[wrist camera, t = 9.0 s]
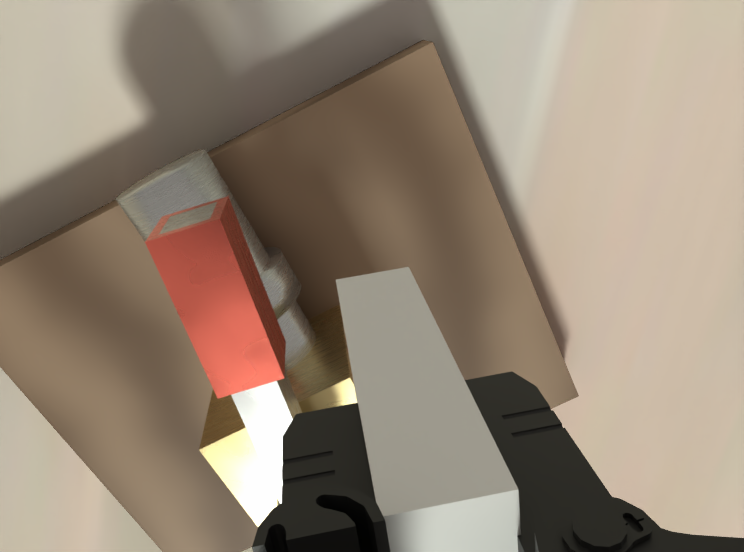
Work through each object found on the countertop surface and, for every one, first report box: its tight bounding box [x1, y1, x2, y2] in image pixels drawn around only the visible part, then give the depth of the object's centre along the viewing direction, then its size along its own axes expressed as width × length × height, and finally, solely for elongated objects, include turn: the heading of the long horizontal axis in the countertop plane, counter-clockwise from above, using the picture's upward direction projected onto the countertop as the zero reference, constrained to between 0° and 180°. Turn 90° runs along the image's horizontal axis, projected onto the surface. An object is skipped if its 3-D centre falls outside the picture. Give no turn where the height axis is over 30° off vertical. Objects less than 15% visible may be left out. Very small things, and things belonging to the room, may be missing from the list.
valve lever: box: [145, 196, 302, 506], centre depth 19 cm, size 12×3×2 cm, turn 16°
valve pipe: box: [116, 149, 357, 526], centre depth 25 cm, size 6×19×7 cm, turn 26°
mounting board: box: [0, 40, 579, 552], centre depth 29 cm, size 22×18×2 cm
